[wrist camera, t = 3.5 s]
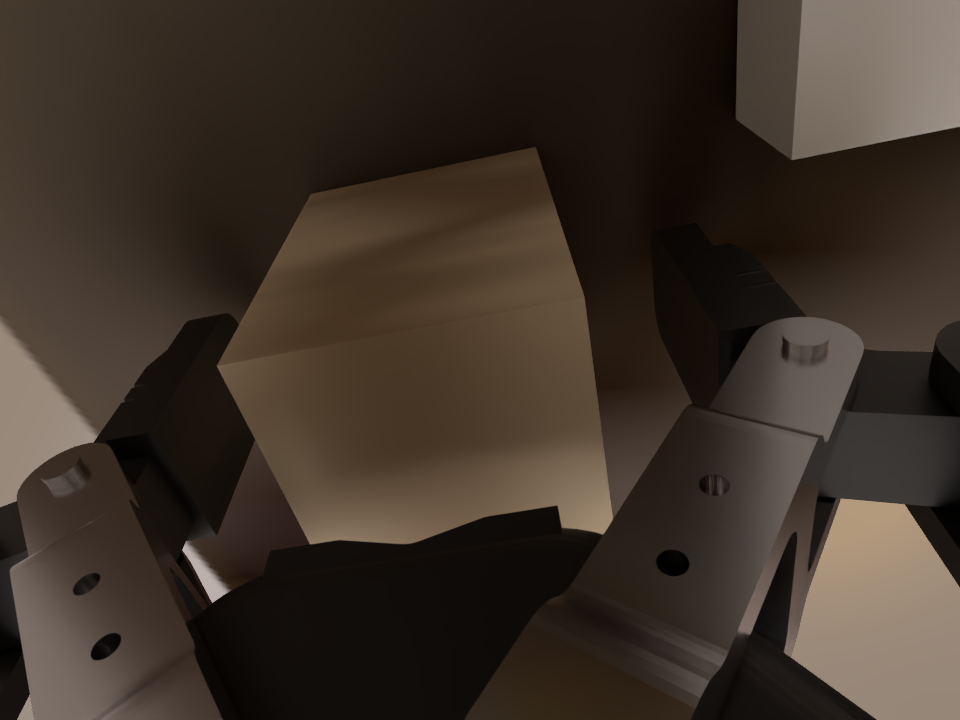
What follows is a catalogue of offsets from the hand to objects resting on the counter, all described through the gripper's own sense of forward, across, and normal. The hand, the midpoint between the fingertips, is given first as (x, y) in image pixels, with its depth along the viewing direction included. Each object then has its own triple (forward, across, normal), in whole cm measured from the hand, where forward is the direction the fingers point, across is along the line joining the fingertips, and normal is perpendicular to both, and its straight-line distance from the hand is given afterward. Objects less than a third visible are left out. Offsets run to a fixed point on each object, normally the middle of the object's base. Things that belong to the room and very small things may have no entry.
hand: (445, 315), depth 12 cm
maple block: (+2, 0, 0) cm, 2 cm away
